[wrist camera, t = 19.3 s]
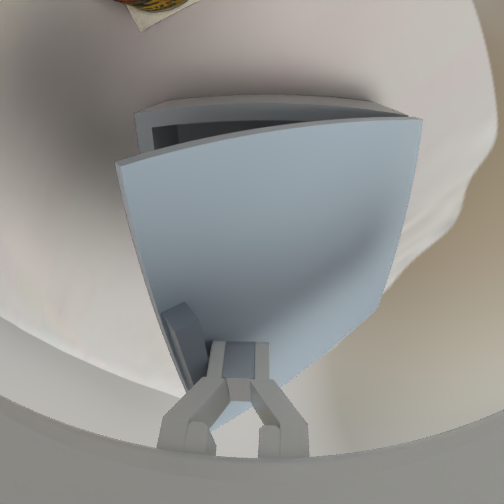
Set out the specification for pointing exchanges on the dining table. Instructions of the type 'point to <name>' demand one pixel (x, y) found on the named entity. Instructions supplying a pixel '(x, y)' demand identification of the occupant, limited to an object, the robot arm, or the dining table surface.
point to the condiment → (153, 10)
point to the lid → (269, 236)
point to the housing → (241, 115)
